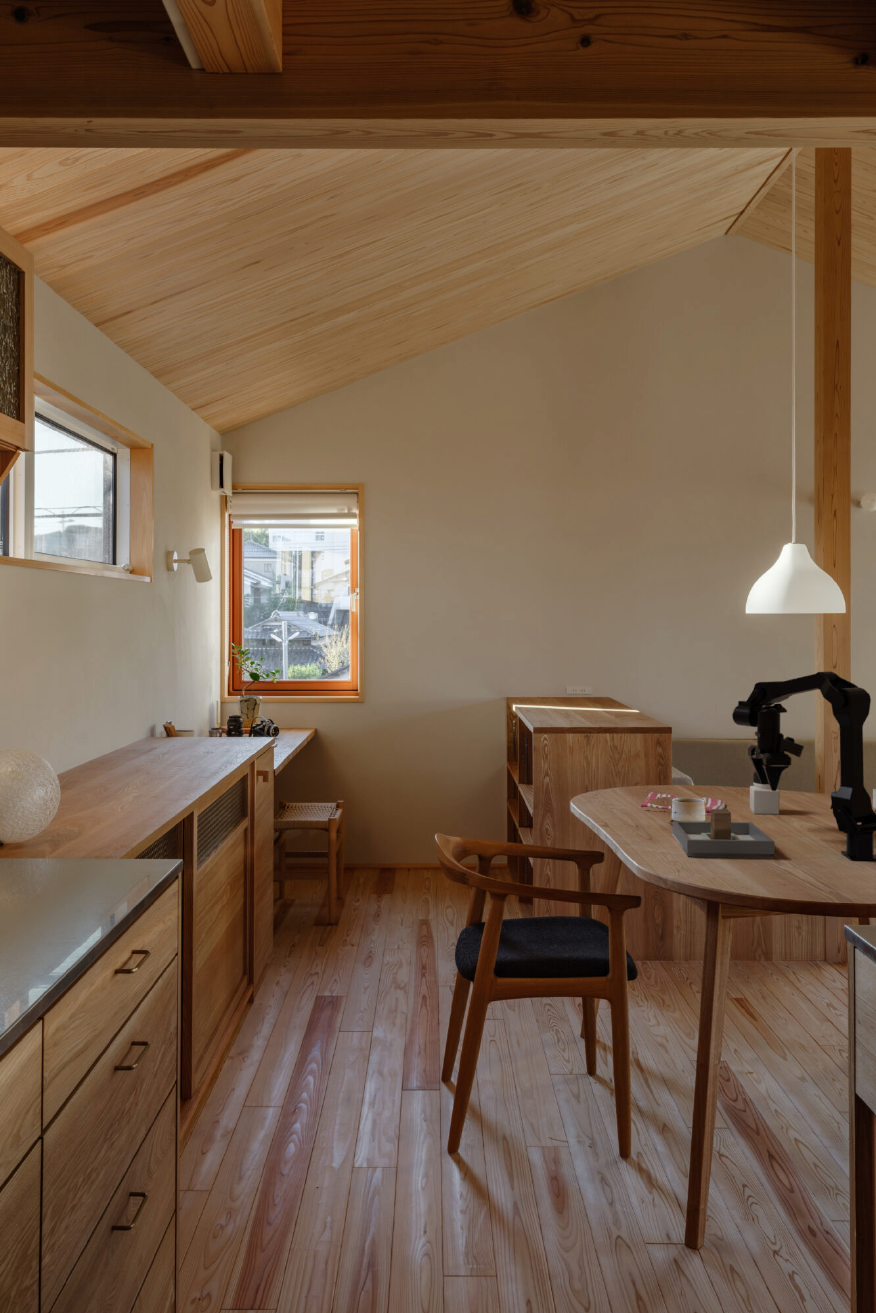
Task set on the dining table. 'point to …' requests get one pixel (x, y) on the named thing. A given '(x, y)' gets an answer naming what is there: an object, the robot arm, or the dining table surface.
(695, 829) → the walled box
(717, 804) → the dish towel
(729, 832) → the peg
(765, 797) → the medicine bottle
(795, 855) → the dining table surface
